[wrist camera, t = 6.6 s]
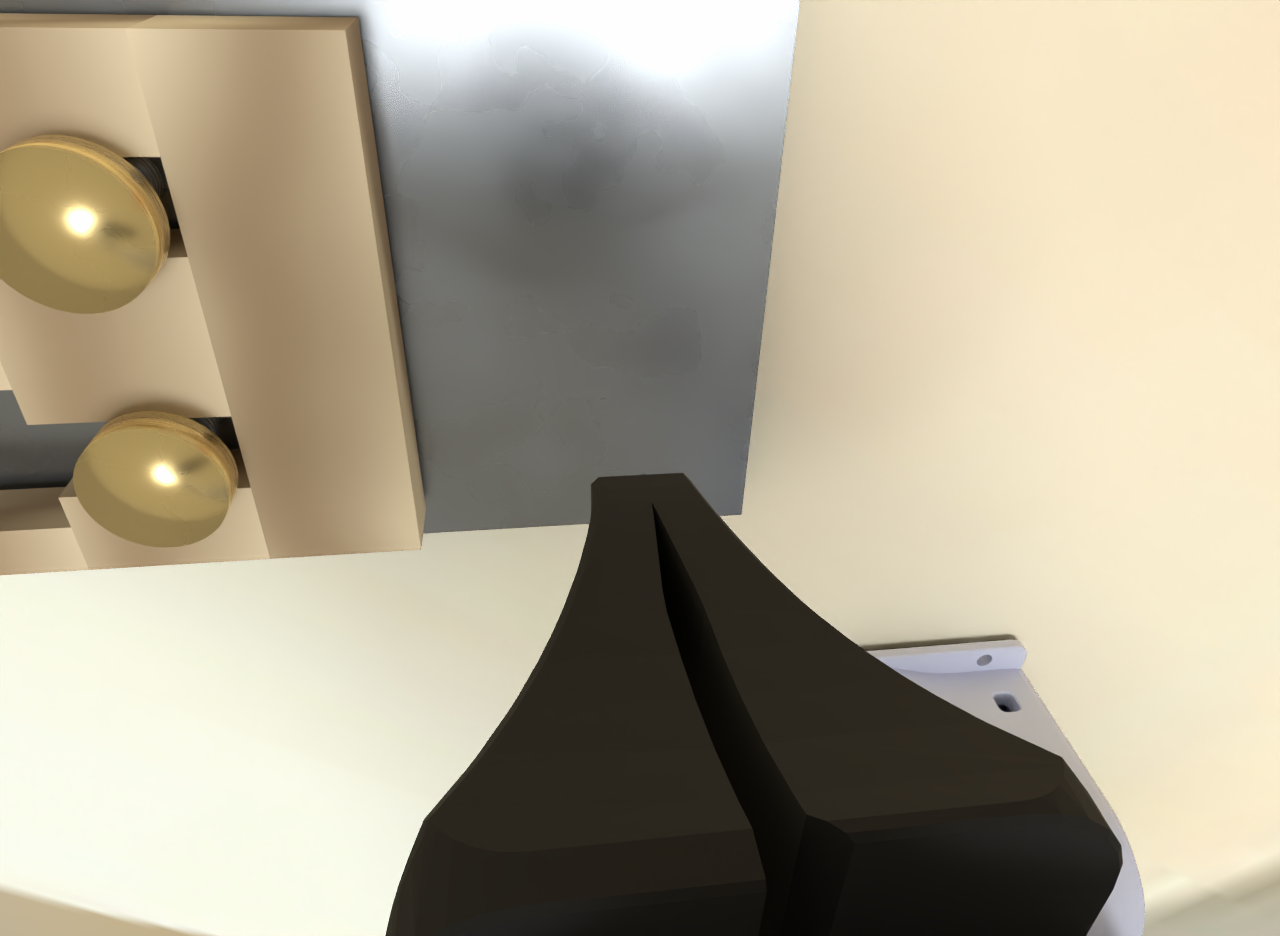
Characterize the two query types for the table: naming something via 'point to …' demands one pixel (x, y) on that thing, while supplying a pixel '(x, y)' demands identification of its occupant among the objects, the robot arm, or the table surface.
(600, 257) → the silver double slider board
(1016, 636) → the table surface
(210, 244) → the panel
